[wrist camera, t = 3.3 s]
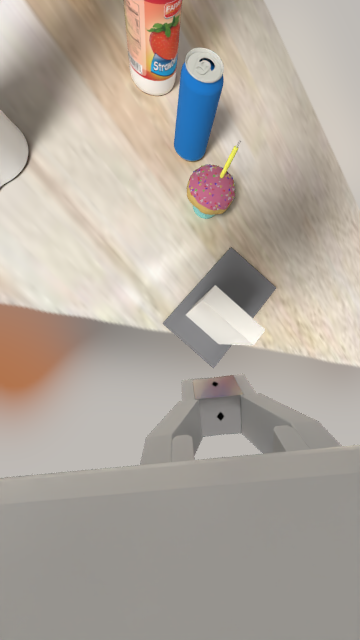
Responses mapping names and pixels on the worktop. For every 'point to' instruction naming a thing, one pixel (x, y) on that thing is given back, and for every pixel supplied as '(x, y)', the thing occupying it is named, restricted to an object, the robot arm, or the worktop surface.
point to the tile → (224, 319)
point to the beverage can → (197, 102)
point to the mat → (237, 285)
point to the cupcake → (212, 188)
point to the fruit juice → (153, 43)
